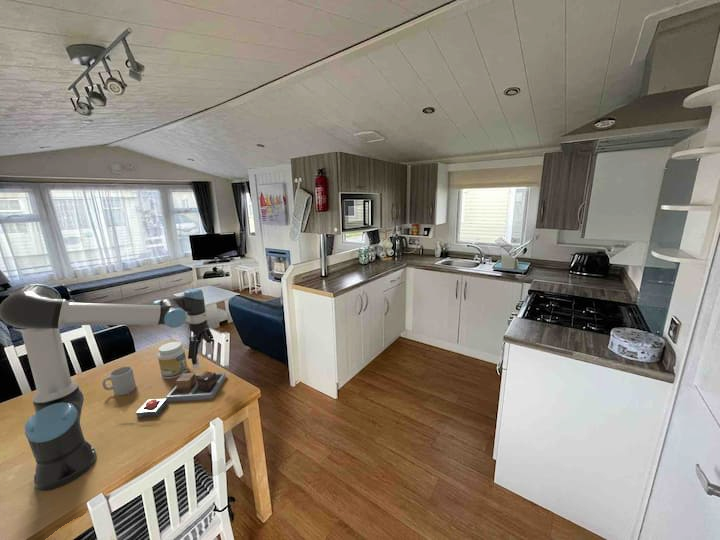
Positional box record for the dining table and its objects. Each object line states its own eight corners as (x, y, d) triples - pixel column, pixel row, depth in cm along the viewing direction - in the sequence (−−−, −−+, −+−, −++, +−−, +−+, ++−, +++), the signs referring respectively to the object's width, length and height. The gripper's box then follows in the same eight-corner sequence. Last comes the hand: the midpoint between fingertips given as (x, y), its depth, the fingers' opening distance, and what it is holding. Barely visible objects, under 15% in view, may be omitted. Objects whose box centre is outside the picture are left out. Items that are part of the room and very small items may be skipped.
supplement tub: (185, 377, 149) (180, 349, 145) (159, 382, 145) (153, 354, 141) (190, 365, 160) (185, 339, 156) (165, 370, 156) (159, 343, 152)
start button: (154, 413, 122) (153, 405, 121) (145, 413, 122) (143, 406, 121) (160, 406, 126) (158, 399, 125) (151, 407, 126) (149, 399, 125)
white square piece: (157, 418, 120) (155, 411, 120) (137, 420, 120) (136, 412, 119) (168, 405, 128) (166, 398, 127) (150, 407, 128) (148, 399, 127)
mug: (137, 382, 145) (133, 364, 143) (135, 391, 138) (130, 372, 136) (107, 391, 139) (102, 371, 136) (103, 400, 132) (98, 380, 129)
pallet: (212, 401, 131) (211, 394, 130) (166, 403, 130) (165, 397, 129) (226, 378, 148) (225, 372, 147) (186, 381, 146) (184, 375, 145)
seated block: (191, 392, 135) (188, 380, 134) (178, 393, 135) (175, 381, 133) (197, 384, 141) (195, 372, 139) (184, 385, 141) (182, 373, 139)
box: (208, 383, 142) (206, 370, 140) (218, 385, 141) (216, 372, 139) (198, 391, 136) (196, 378, 135) (208, 392, 135) (206, 379, 133)
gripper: (192, 332, 118) (199, 376, 123) (217, 311, 142) (221, 348, 147) (174, 333, 118) (181, 377, 122) (202, 311, 142) (207, 348, 147)
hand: (203, 361), depth 135 cm, fingers open, 13 cm apart
